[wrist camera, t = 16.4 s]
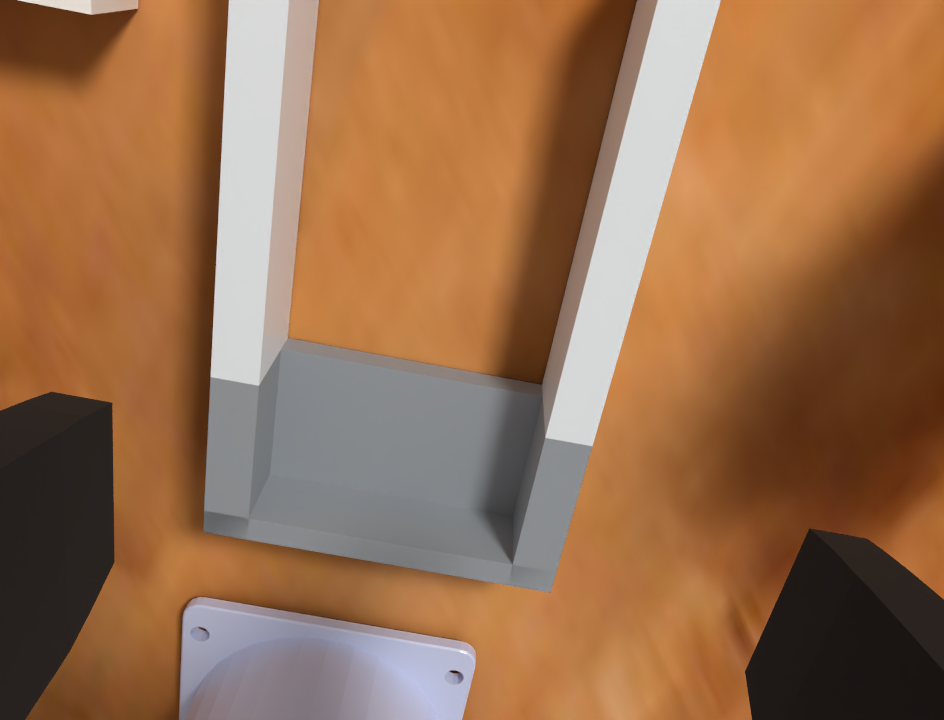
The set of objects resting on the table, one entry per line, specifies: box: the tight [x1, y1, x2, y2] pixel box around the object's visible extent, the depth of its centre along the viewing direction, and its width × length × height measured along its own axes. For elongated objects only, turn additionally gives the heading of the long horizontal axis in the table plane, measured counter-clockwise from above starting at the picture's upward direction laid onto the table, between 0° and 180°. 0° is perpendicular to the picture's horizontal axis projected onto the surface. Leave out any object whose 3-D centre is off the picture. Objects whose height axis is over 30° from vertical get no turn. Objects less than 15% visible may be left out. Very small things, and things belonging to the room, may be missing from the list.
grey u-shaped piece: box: [203, 338, 592, 593], centre depth 19 cm, size 4×8×2 cm, turn 80°
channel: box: [211, 0, 721, 446], centre depth 16 cm, size 10×8×2 cm
